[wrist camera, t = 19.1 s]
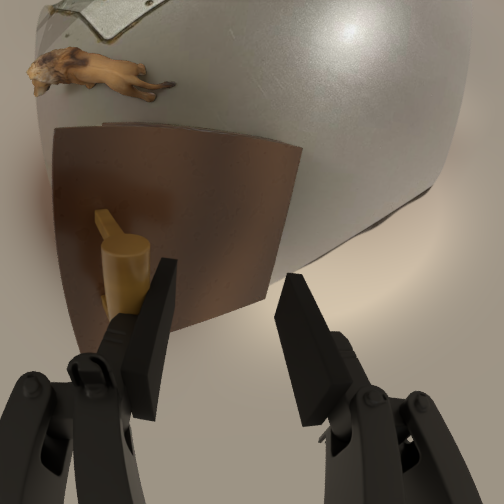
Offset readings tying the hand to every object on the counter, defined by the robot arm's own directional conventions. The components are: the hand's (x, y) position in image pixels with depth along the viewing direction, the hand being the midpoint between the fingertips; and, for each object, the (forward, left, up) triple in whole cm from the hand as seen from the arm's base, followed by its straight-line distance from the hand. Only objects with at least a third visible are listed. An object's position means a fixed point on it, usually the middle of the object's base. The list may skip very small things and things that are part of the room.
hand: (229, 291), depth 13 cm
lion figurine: (-15, +12, -19) cm, 27 cm away
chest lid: (-3, 0, -5) cm, 6 cm away
